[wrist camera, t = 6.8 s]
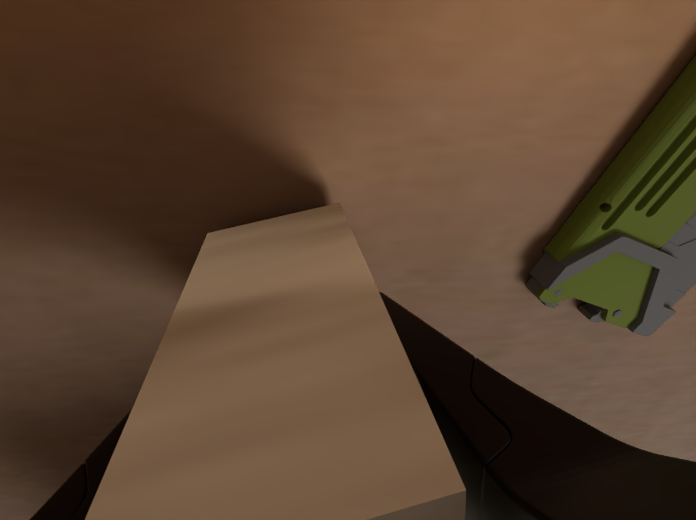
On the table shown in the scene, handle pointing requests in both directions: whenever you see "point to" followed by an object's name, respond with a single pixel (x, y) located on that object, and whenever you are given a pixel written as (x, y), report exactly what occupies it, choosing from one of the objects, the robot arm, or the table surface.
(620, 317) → the gun
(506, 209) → the table surface
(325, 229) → the wooden l-shaped block
